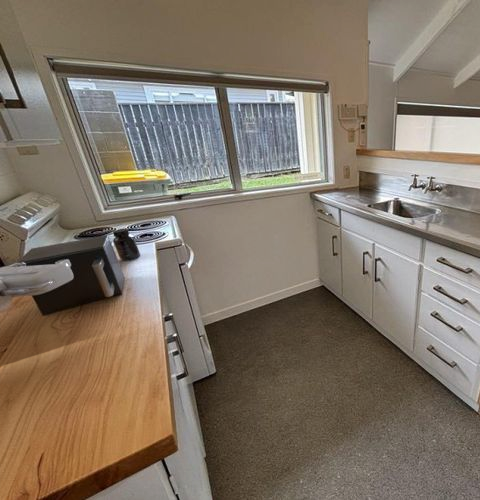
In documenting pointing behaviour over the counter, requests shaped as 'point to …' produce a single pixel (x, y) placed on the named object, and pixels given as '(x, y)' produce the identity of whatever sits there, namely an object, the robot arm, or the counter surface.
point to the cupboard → (78, 247)
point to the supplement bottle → (125, 245)
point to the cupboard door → (79, 281)
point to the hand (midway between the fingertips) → (45, 264)
